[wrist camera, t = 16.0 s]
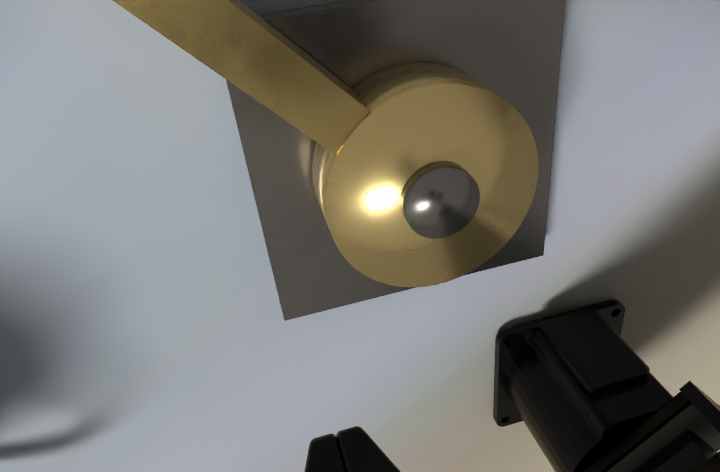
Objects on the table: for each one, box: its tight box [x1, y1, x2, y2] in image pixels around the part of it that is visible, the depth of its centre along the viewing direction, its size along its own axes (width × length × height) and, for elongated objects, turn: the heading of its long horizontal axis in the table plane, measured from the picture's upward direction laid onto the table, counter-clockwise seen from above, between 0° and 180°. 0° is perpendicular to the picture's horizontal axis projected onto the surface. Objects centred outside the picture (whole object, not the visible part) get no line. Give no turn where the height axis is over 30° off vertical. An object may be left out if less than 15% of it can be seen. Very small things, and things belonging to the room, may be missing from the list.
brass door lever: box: [113, 0, 539, 287], centre depth 16 cm, size 16×7×3 cm, turn 49°
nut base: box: [226, 0, 565, 320], centre depth 20 cm, size 11×11×1 cm
